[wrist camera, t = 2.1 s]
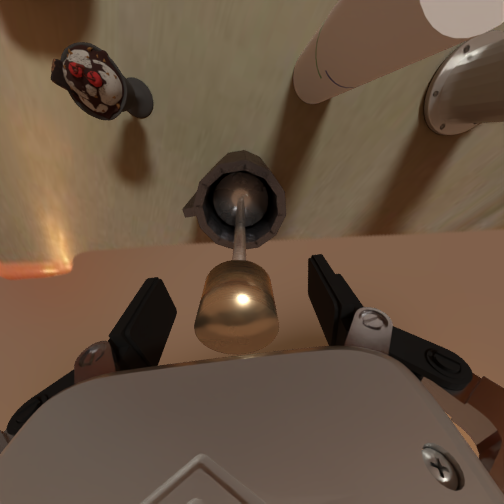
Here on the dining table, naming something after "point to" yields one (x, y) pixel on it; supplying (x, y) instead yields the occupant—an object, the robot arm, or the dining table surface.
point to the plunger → (238, 277)
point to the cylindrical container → (385, 40)
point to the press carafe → (210, 219)
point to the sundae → (99, 83)
